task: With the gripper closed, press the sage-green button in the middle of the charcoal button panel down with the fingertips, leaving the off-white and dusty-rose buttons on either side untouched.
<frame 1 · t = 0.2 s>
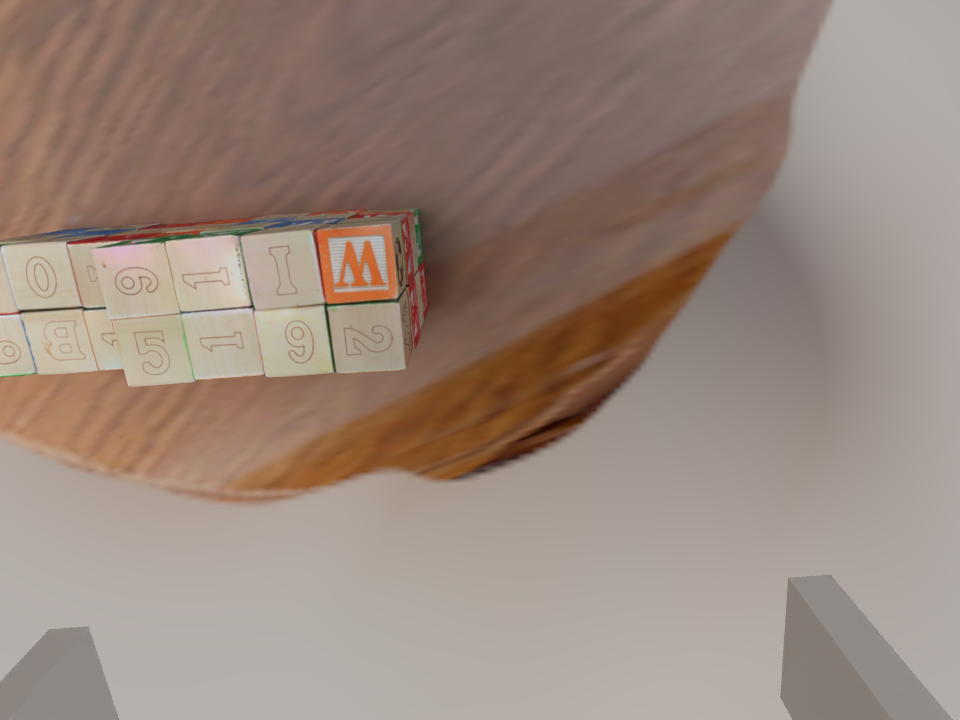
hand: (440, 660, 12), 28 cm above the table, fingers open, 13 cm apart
stack of blocks: (250, 269, 38), on the table
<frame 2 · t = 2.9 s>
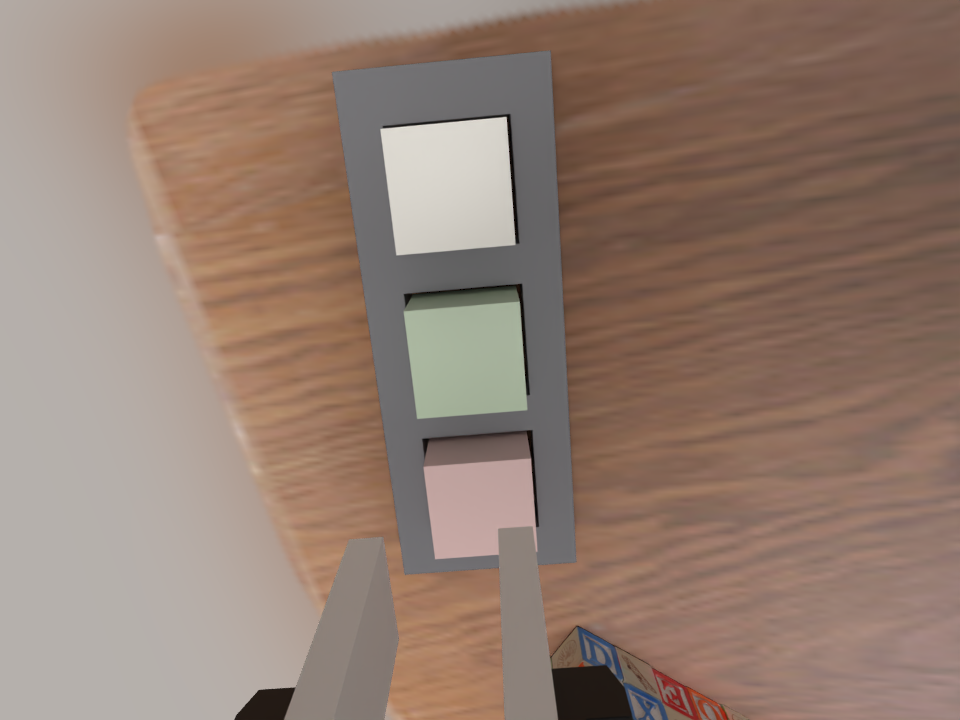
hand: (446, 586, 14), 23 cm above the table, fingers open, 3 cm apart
white button: (451, 186, 30), point 4 cm above the table, slide at 0.0 cm
button panel: (469, 331, 36), on the table
sage button: (468, 350, 32), point 4 cm above the table, slide at 0.0 cm
rose button: (481, 490, 34), point 4 cm above the table, slide at 0.0 cm
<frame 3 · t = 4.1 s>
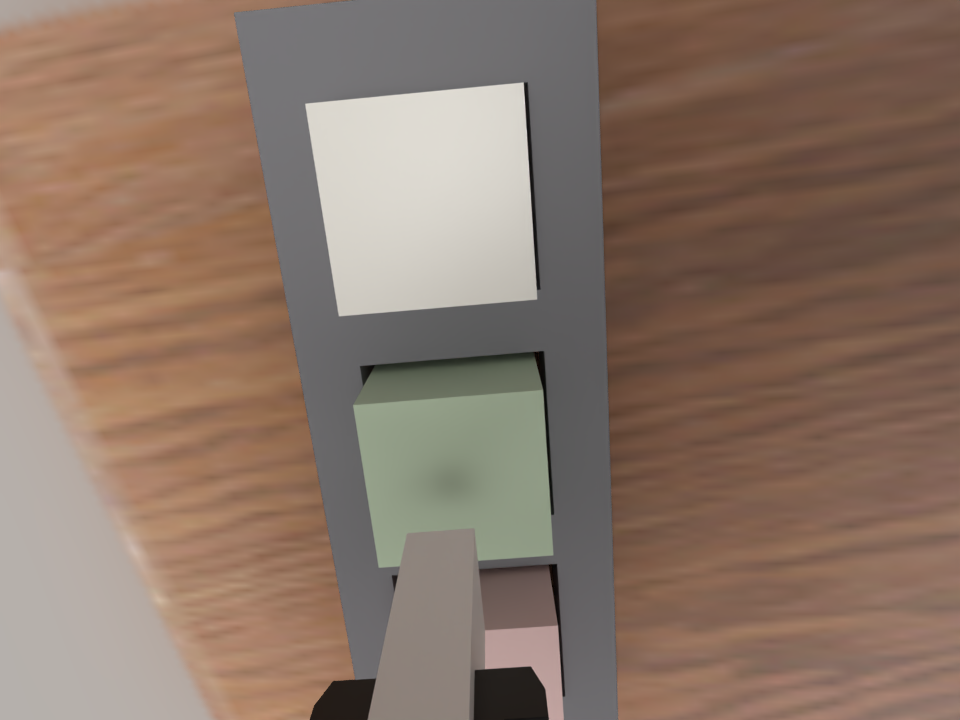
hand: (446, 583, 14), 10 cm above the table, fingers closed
white button: (432, 201, 18), point 4 cm above the table, slide at 0.0 cm
button panel: (463, 410, 24), on the table
sage button: (459, 453, 21), point 4 cm above the table, slide at 0.0 cm
rose button: (481, 653, 23), point 4 cm above the table, slide at 0.0 cm
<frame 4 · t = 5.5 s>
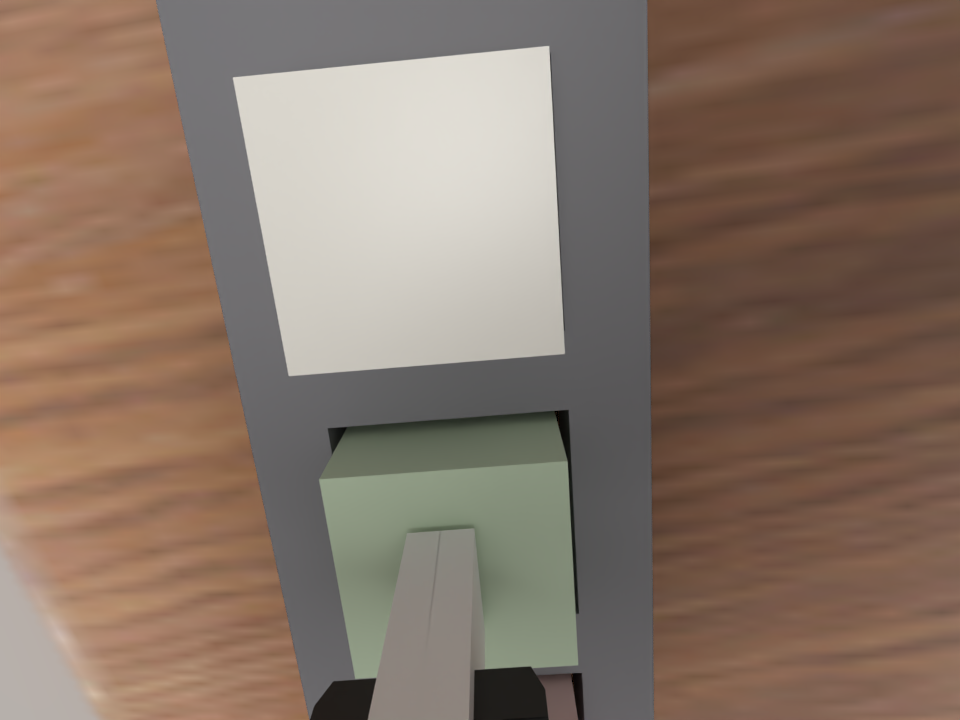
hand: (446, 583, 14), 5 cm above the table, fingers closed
white button: (420, 215, 13), point 4 cm above the table, slide at 0.0 cm
button panel: (463, 471, 19), on the table
sage button: (458, 528, 16), point 3 cm above the table, slide at 0.7 cm, touching gripper
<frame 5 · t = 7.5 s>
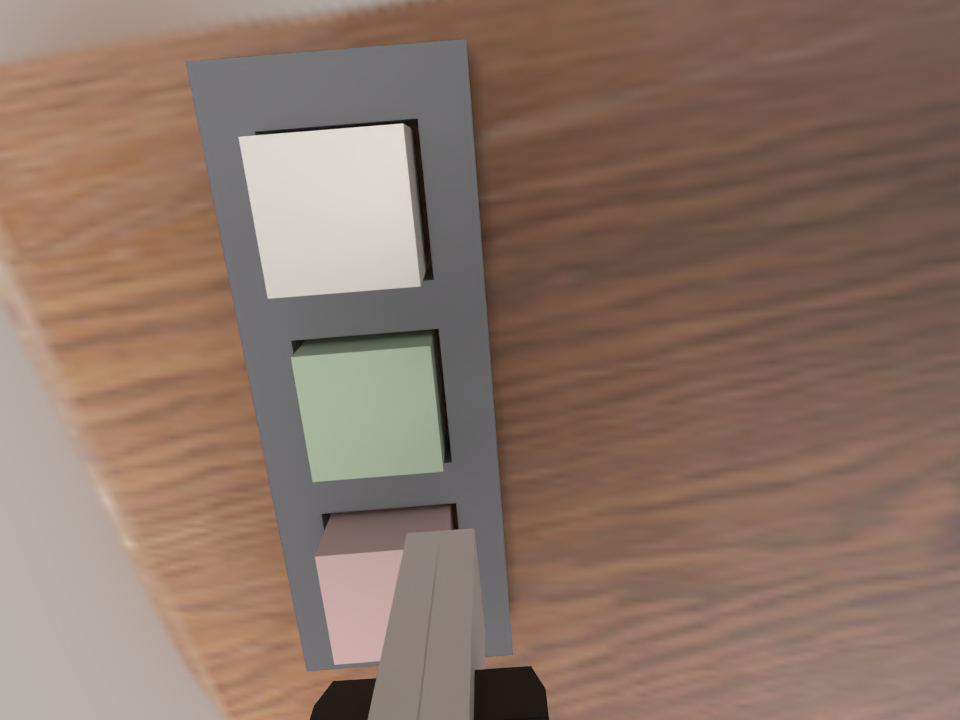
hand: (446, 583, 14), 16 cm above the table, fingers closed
white button: (343, 210, 23), point 4 cm above the table, slide at 0.0 cm
button panel: (383, 379, 29), on the table
sage button: (376, 398, 27), point 2 cm above the table, slide at 1.4 cm
rose button: (394, 577, 28), point 4 cm above the table, slide at 0.0 cm
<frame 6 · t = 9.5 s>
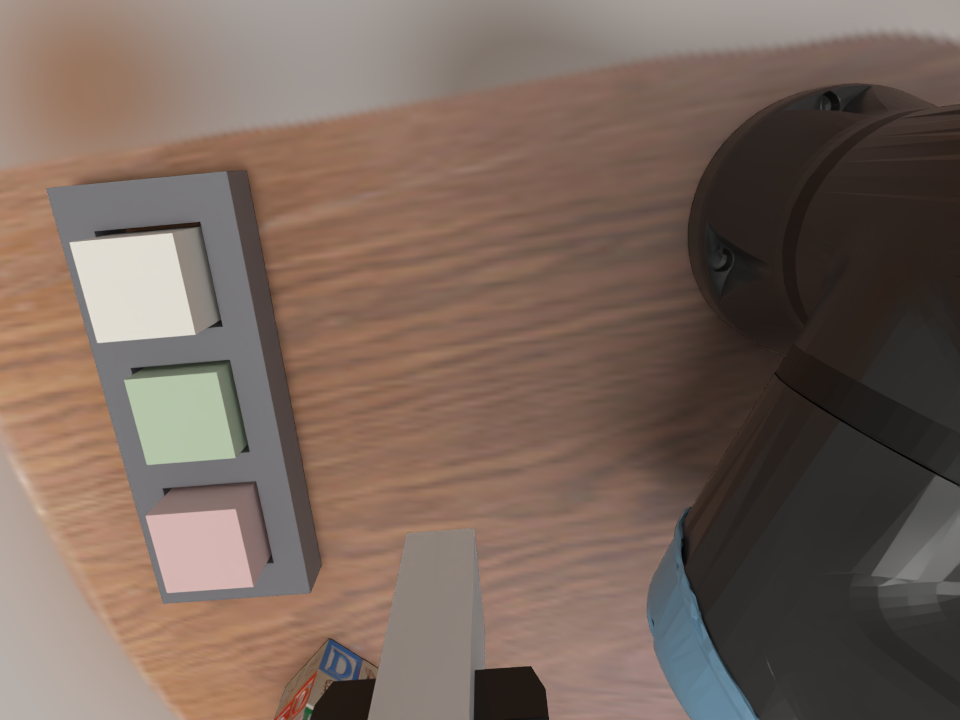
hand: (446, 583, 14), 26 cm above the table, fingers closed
white button: (152, 282, 35), point 4 cm above the table, slide at 0.0 cm
button panel: (211, 393, 41), on the table
sage button: (195, 407, 39), point 2 cm above the table, slide at 1.4 cm
rose button: (214, 533, 40), point 4 cm above the table, slide at 0.0 cm
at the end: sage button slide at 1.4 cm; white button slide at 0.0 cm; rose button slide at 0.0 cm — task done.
